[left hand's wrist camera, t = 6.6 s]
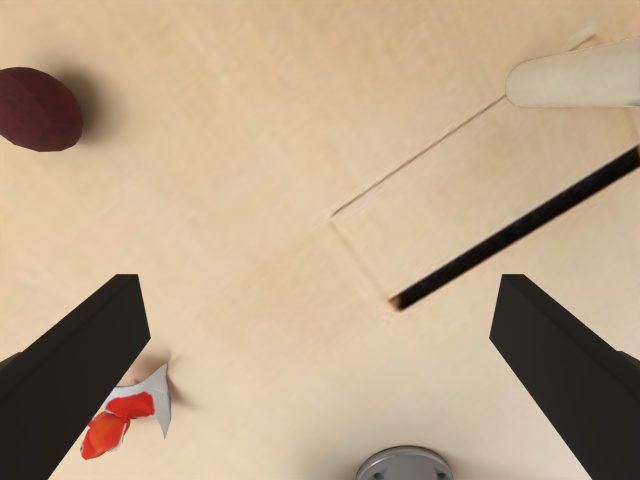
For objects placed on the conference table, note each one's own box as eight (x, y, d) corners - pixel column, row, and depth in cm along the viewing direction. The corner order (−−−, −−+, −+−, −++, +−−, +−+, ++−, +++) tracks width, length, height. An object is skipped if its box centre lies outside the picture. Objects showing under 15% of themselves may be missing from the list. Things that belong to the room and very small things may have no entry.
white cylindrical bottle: (515, 55, 35) (706, 6, 18) (556, 65, 35) (782, 27, 18) (498, 101, 37) (659, 97, 19) (537, 111, 37) (730, 115, 20)
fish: (34, 405, 45) (25, 475, 37) (141, 324, 48) (153, 373, 41) (98, 436, 51) (101, 500, 44) (188, 362, 55) (206, 410, 47)
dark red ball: (57, 55, 35) (-5, 43, 28) (114, 124, 37) (69, 127, 31) (8, 99, 36) (-61, 98, 30) (66, 163, 39) (13, 174, 32)
